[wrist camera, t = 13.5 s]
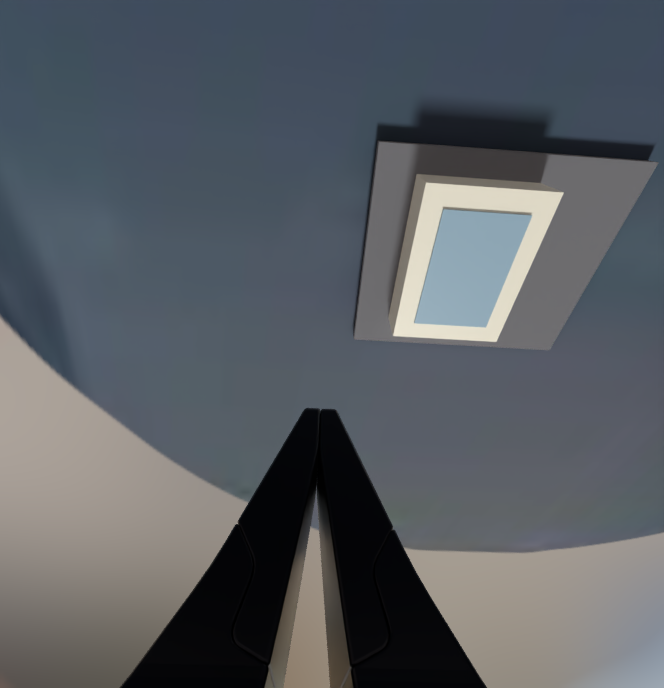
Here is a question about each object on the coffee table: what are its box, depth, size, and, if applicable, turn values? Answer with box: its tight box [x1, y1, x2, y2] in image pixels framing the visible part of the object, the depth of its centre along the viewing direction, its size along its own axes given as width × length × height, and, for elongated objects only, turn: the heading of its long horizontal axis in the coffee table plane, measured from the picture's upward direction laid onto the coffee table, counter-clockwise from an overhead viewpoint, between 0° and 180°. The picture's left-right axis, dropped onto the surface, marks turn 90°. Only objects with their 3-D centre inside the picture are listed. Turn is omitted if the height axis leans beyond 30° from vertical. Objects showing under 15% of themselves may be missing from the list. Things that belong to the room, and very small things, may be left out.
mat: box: [354, 140, 658, 350], centre depth 18 cm, size 13×11×1 cm
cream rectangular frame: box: [388, 174, 564, 342], centre depth 17 cm, size 8×2×6 cm
